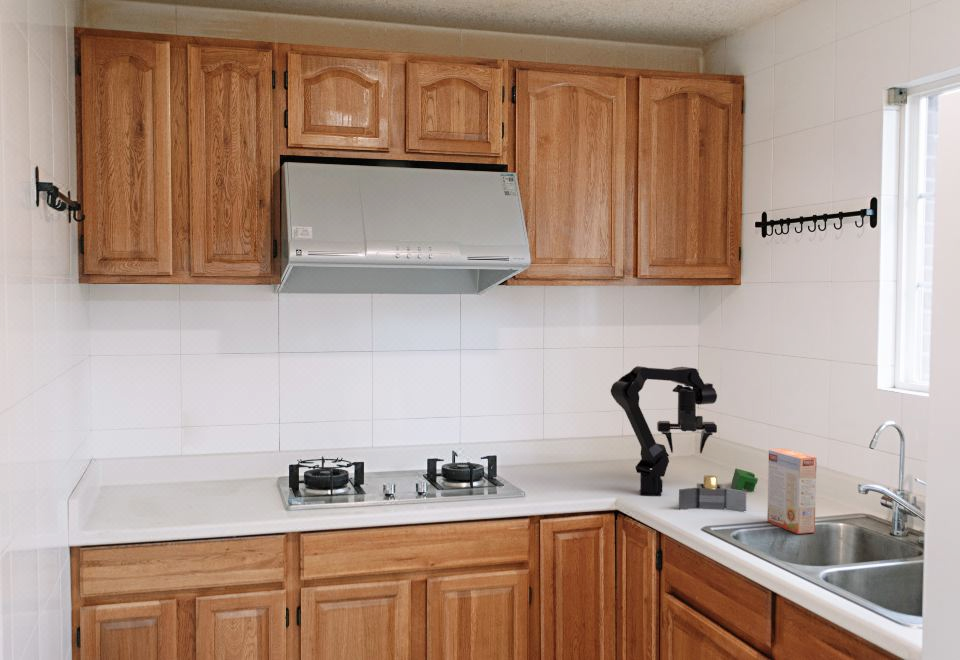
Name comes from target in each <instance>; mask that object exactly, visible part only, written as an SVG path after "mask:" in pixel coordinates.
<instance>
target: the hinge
mask: <svg viewBox="0 0 960 660" xmlns="http://www.w3.org/2000/svg"><path fill="white" fill-rule="evenodd" d="M747 491H748V490H743V491H742V490H735V489H734V488H727V487H724V486H723V485H722V483H717V489H716V488H704V483H698V482H697V483H696V487H690V488H689V487H688V488H679V489H678V510H680V509H683V510H689V509H688V508H692V509H697V508H698V507H699V508H703V509H705V510H706V509H707V510H708V509H709V510H731V509H732V511H737V510H738V512H739V511H740V512H744V511H746V512H747V502H748V501H747V497H748V496H747V494H748V493H747ZM699 508H698V509H699ZM724 508H726V509H724ZM703 509H702V510H703Z"/></svg>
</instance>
